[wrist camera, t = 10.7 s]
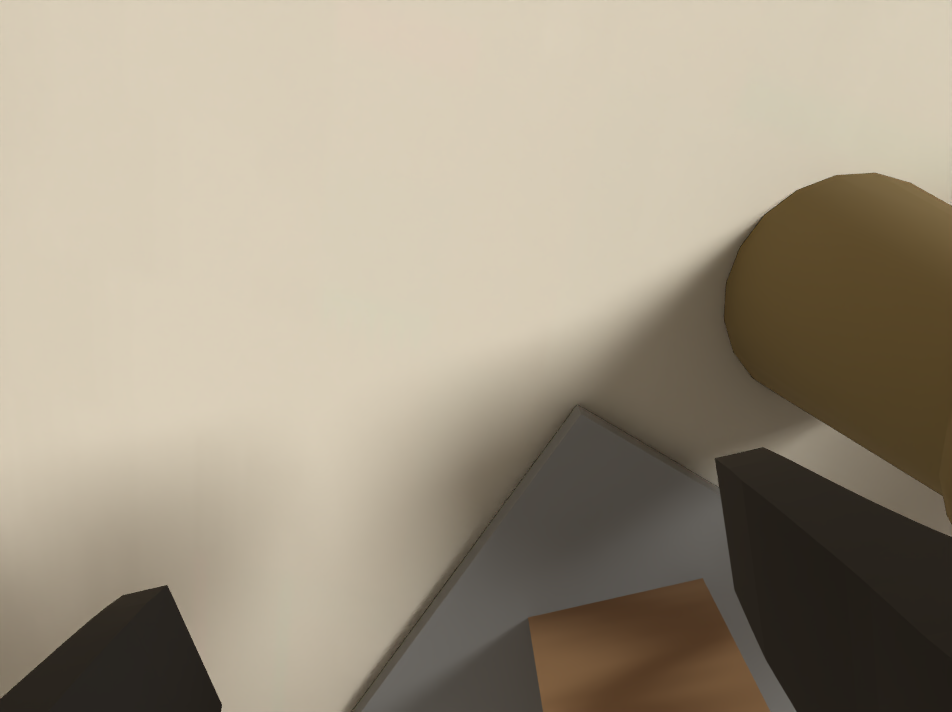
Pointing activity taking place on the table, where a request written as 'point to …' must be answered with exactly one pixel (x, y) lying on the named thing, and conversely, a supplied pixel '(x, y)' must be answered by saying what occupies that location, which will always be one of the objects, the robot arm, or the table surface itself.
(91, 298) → the table surface
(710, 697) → the letter cube
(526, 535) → the mat
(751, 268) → the cork
